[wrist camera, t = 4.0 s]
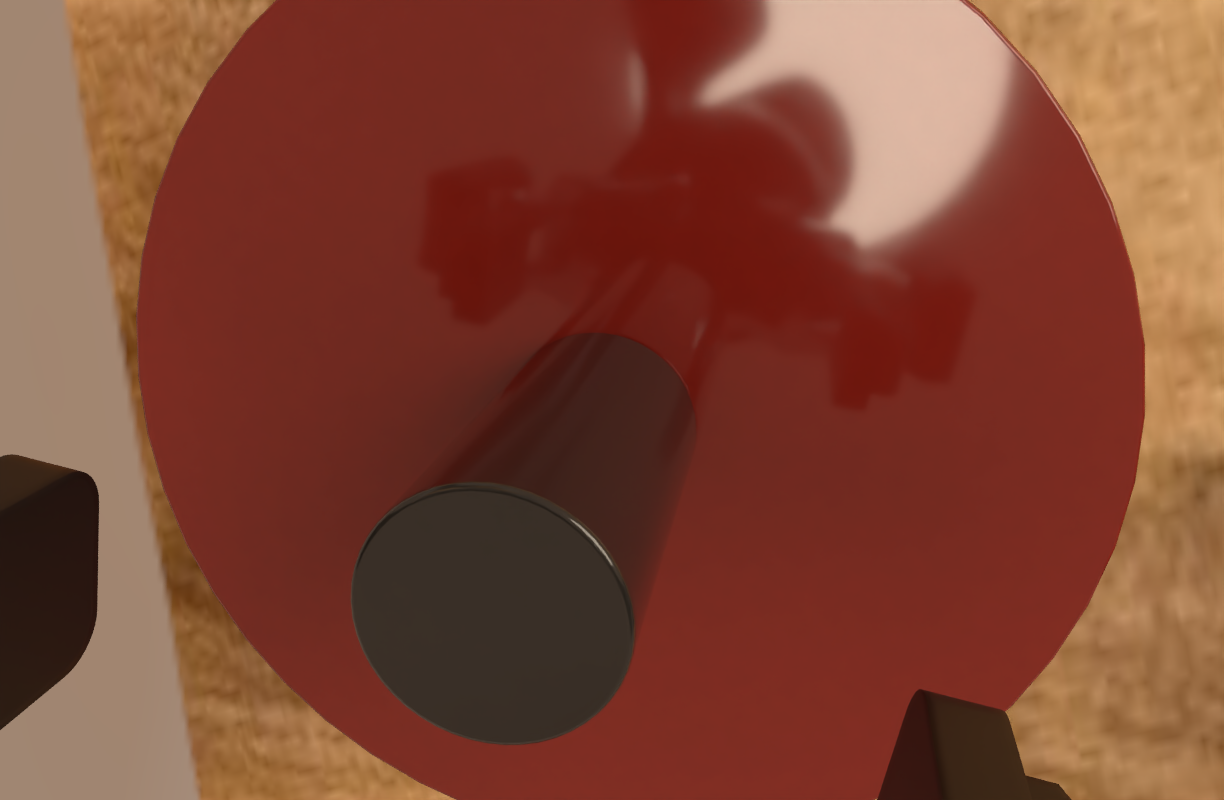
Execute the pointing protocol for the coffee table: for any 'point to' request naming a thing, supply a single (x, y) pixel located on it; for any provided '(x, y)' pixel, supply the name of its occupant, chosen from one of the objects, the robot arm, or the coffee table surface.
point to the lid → (640, 381)
